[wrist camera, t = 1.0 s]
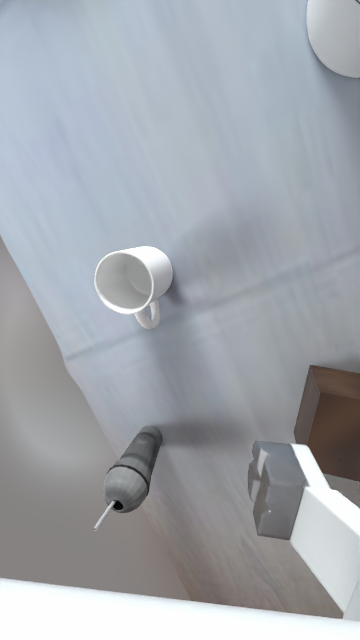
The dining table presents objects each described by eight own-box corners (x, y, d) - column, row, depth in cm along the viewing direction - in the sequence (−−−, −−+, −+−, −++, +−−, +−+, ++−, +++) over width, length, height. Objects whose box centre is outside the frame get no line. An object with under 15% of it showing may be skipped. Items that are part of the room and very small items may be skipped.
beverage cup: (153, 457, 59) (107, 563, 40) (126, 433, 59) (67, 529, 40) (176, 438, 56) (138, 542, 38) (148, 412, 56) (95, 505, 37)
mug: (186, 312, 48) (170, 334, 39) (141, 322, 51) (115, 345, 41) (165, 239, 46) (142, 243, 36) (118, 254, 48) (85, 261, 38)
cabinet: (415, 382, 43) (449, 415, 36) (389, 451, 47) (415, 494, 40) (309, 365, 46) (320, 392, 39) (293, 431, 50) (300, 468, 43)
